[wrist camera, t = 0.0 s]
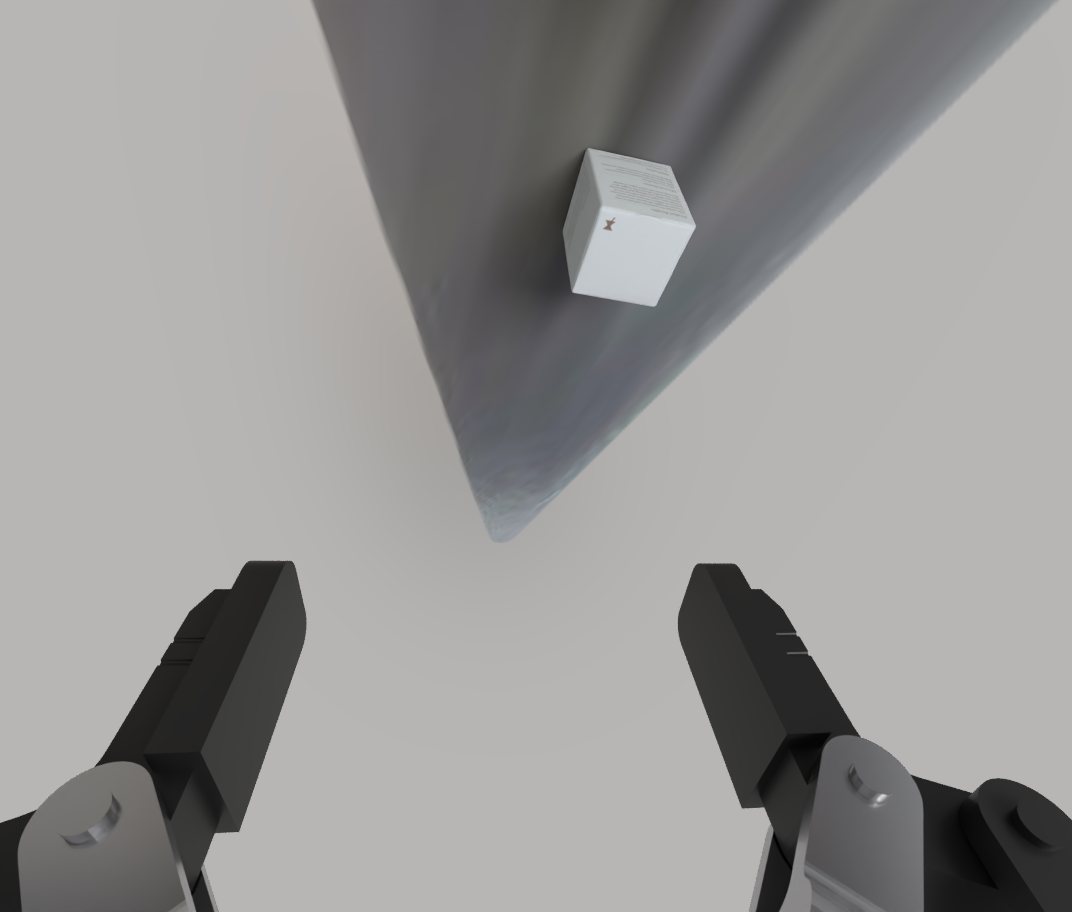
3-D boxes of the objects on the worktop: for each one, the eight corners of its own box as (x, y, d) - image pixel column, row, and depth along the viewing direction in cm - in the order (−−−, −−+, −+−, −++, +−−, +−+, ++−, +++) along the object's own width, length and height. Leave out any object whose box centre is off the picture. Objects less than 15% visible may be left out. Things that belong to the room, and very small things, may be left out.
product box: (560, 231, 38) (568, 294, 34) (586, 143, 34) (599, 203, 29) (638, 247, 40) (655, 309, 35) (673, 165, 35) (699, 225, 31)
